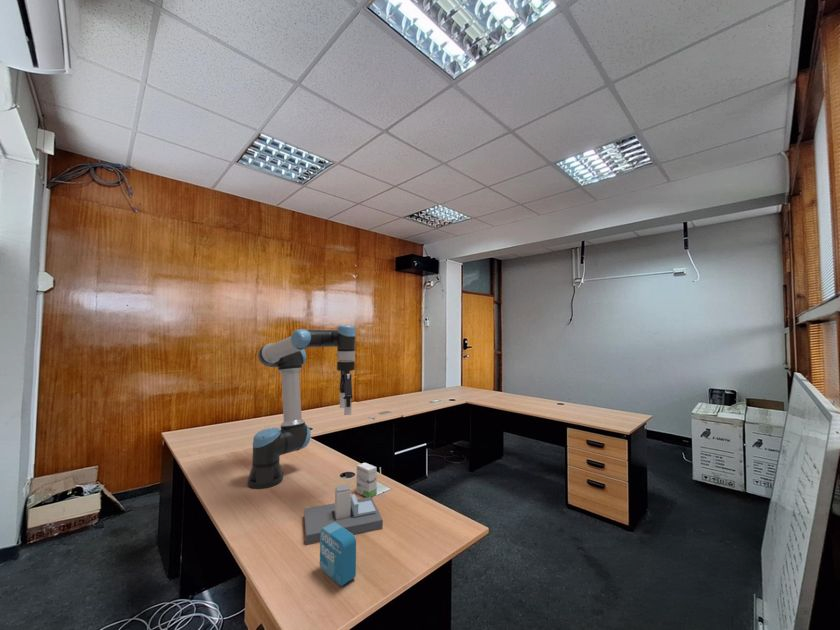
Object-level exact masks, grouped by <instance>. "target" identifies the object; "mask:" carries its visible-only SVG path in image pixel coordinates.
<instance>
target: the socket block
mask: <svg viewBox="0 0 840 630" xmlns="http://www.w3.org/2000/svg"><path fill="white" fill-rule="evenodd" d="M356 499H357V501H358V503H359V502H365V501H370V500H371V501H372V503H373V506H374V508H375V510H376V513H372V514H367V515H361V516H356V517H354V515H353V512H352V509H351V503H350V518H346V519H341V520H336V521H335V502H334V503H329V504H322V505H319V506H318V505H317V506H312V507H305V508H304V513H303V514H304V515H303V519H304V536H305V545H306V546H308V545H312V544H317V543H320V531H321V529H322V528H323V527H325V526H327V525H330V524H332V523H334V522H336V523H337V524H339V525H340V526H342V527H343V528H344V529H346V530H347V531H349V532H350V533H352V534H353V535H354V536H355V535H359V534H364V533H368V532H373V531H377V530H382V529H383V524H384V523H383V518H382V515H381V514H380V512H379V509H378V508H377V505H376V503H375V501H374V499H373V496H372V497H362V498H356Z"/></svg>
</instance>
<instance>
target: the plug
mask: <svg viewBox="0 0 840 630" xmlns="http://www.w3.org/2000/svg"><path fill="white" fill-rule="evenodd" d="M351 495H352V493H351V488H350V486H349V483H346V484H345V483H344V484H340V485H335V487H334V503H335V519H334V521H336V520H341V519H346V518H351V517H350V503H351Z"/></svg>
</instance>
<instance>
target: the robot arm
mask: <svg viewBox="0 0 840 630" xmlns="http://www.w3.org/2000/svg"><path fill="white" fill-rule="evenodd" d="M356 336H357V334H356V327H355V326H354V325H351V324H350V325H349V324H348V325H347V324H346V325H341V324H340V325H338V326H337V329H304V328H301V329H295V330H294V331H293V332H292V333H291V336H288V337H286V338H284V339H281V340H278V341H276V342H275V343H273V342H271V343H267V344H264V345H263V346H261V347H260V348H259V350H258V353H257V359H258V361H259V362H260V363H261V364H262V365H263V366H265V367H268V368H277V371H278V372H279V373H280V375H281V392H282V411H283V412H282V413H283V422H282V423H281V424H280V428H279V427H270V428H269V427H268V428H264V429H262V430H259V431H258V432H256V433H255V434H254V436H253V440H252V465H251V466H252V467H251V470H250V473H249V475H248V478H247V486H248V488H250V489H267V488H270V487H274V486H276V485H278V484H280V483H281V482H283V479H284V472H283V470H282V467H281V463H280V460H281V459H280V456H282V455H286V454H289V453H292V452H298V451H300V450H303V449H305V448H306V447H308V446H309V444H310V441H311V436H312V433H311V429H310V427H309V425H308V424H306V421H305V420H304V419H303V418H302V416H303V415H302V400H301V382H300V371H301V370H302V369H303V366H304V365H305V364H306V360H307V354H306V349H308V348H327V347H328V348H329V347H330V348H331V347H332V348H333V347H335V348H337V350H336V351H337V353H335V356H336V358H337V359H336V360H337V362H336V370H337V371H339V372H340V380H339V381H340V382H339V388H338V389H339V408H340V409H343V410H344V411H343V412H344V413H343V414H344V416H350V415H352V398H353V397H354V396H353V385H352V384H353V382H352V373H351V371H355V369H356V362H355V360H356Z"/></svg>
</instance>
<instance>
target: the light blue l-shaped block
mask: <svg viewBox="0 0 840 630" xmlns="http://www.w3.org/2000/svg"><path fill="white" fill-rule="evenodd" d="M357 499H358V498H357V496H356V493H355V494H352V493H351V509H352V512H353V515H354V517H356V516H361V515H367V514H372V513H376V510H375V508H374V506H373V503H372V501H371V500H370V501H365V502H359V503H358V501H357Z"/></svg>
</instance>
